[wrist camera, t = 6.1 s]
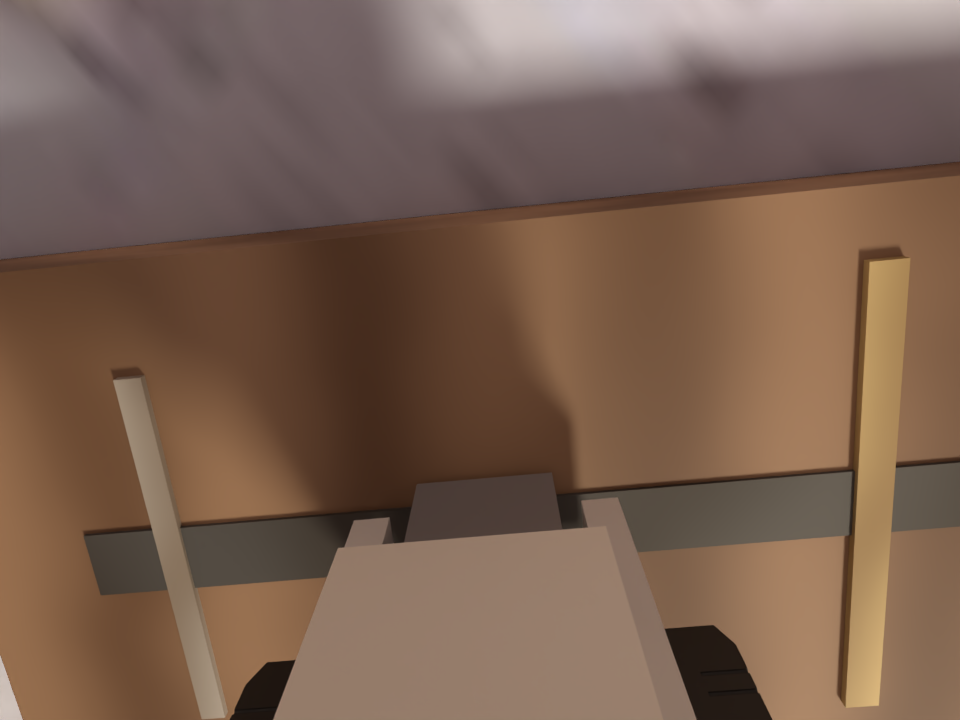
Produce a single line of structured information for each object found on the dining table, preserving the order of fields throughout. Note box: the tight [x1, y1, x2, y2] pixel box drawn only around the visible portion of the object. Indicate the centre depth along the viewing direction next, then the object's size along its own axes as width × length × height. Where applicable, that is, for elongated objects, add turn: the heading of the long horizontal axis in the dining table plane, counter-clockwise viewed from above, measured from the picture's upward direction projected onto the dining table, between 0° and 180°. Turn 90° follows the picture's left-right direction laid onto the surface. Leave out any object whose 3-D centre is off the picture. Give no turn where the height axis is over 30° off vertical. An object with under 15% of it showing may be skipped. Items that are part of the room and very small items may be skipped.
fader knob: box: [273, 472, 663, 720], centre depth 12 cm, size 4×6×9 cm, turn 6°
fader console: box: [0, 162, 960, 720], centre depth 18 cm, size 32×14×3 cm, turn 96°
